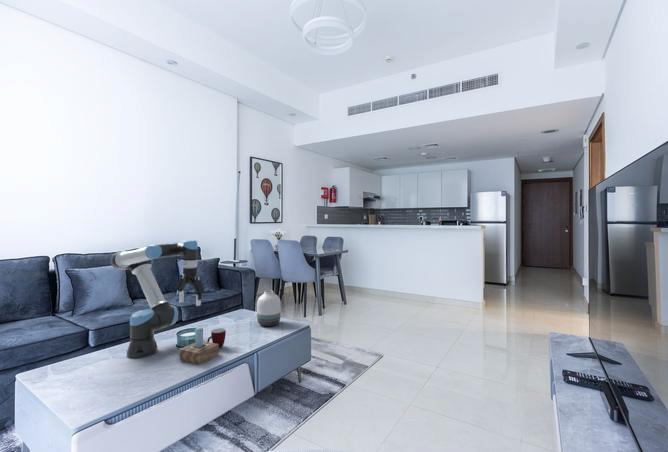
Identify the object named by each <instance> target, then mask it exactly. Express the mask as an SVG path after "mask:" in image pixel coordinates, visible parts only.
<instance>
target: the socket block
mask: <svg viewBox="0 0 668 452" xmlns="http://www.w3.org/2000/svg"><path fill="white" fill-rule="evenodd" d="M219 351H220V348H219V344H216V343H212V341H211V342H210V341H209V342H207V341H205V340H203V347H202V348H200V349H197V348H195V342H193V343H191V344H189V345H186V346H183V347H181V348H180V349H179V361H181V362H186V363H190V364H193V365H194V364H195V365H198V366H200V365H201V364H203V363H206V362H207V361H209V360H211V359H213V358H215V357H217V356H218V355H219Z"/></svg>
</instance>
